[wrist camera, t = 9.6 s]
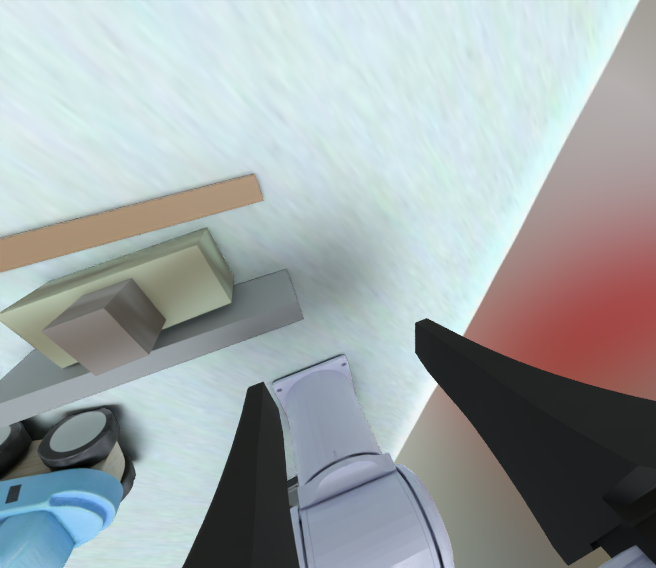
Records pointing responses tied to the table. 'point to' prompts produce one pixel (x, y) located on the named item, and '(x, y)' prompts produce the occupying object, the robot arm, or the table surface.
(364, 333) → the table surface
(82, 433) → the toy excavator
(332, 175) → the table surface
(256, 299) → the grey and tan bars
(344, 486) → the robot arm
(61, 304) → the beige block with knob
